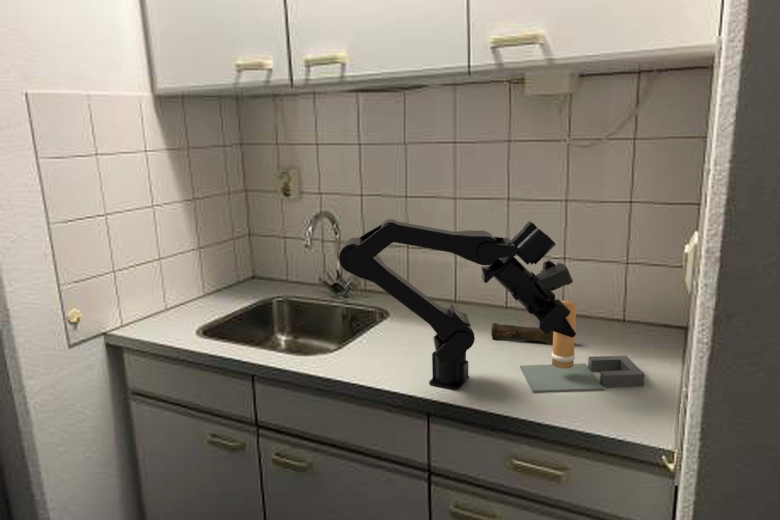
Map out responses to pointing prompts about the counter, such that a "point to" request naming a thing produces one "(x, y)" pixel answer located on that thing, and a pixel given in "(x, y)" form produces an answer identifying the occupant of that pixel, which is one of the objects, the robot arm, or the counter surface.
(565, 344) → the orange peg
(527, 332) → the wooden log
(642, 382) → the dark grey piece
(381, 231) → the robot arm
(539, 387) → the mat
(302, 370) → the counter surface
